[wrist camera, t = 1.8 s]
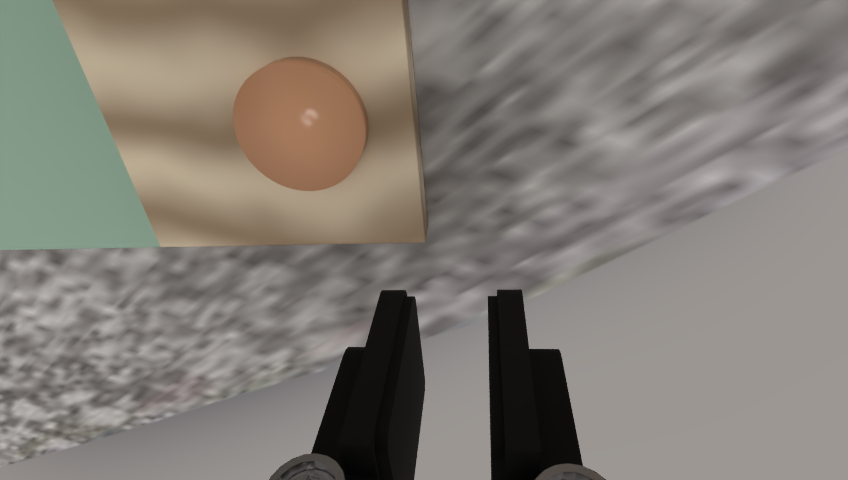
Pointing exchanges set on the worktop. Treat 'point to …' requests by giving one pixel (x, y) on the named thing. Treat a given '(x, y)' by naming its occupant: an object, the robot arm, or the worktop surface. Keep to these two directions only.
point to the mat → (57, 145)
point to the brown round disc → (301, 123)
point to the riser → (213, 115)
